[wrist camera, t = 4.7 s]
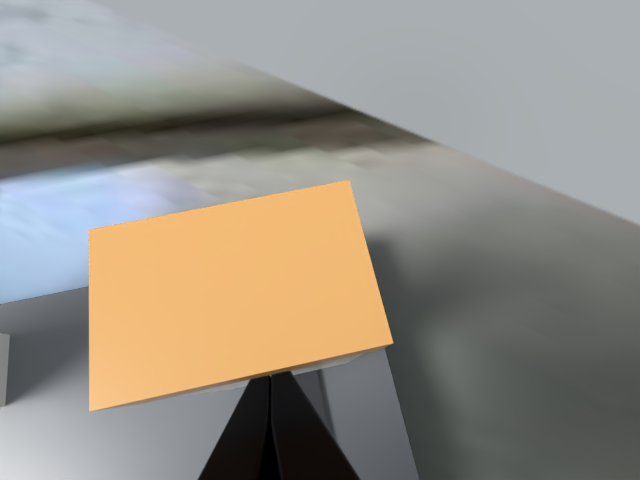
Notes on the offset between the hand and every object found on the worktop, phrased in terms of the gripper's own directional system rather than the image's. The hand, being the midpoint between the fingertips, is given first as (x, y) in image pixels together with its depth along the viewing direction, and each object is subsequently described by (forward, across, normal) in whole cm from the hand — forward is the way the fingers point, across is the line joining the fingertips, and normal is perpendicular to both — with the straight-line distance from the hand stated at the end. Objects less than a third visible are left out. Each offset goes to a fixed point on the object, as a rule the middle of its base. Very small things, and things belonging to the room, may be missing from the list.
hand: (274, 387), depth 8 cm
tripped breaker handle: (+5, 0, +3) cm, 6 cm away
